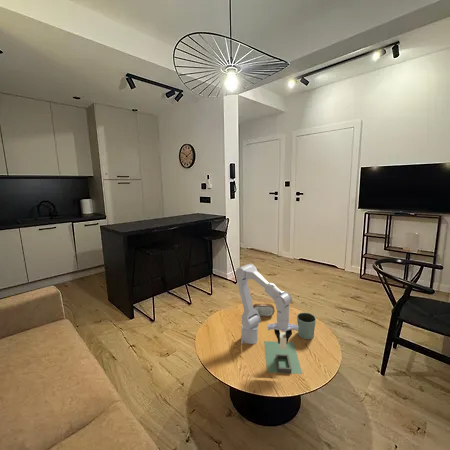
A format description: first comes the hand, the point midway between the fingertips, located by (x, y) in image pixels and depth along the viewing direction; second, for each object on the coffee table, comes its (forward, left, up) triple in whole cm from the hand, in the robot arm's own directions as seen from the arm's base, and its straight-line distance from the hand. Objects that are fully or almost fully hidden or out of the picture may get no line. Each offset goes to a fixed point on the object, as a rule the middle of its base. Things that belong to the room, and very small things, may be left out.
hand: (282, 342), depth 121 cm
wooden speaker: (-7, +40, -10) cm, 42 cm away
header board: (0, +2, -10) cm, 10 cm away
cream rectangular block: (0, 0, -2) cm, 2 cm away
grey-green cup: (+16, +20, -10) cm, 27 cm away
